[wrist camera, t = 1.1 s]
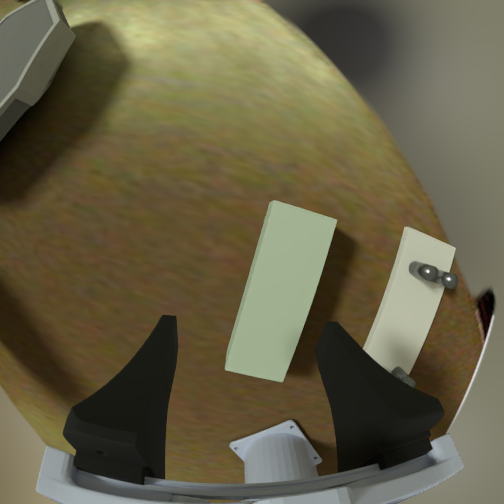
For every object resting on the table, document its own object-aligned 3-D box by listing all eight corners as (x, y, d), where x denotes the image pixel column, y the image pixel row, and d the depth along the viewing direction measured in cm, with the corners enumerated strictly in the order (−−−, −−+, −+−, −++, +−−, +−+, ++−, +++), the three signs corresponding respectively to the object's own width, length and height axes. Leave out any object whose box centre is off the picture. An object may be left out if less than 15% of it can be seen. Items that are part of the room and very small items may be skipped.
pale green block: (277, 360, 26) (282, 382, 22) (227, 349, 26) (224, 369, 22) (323, 219, 25) (337, 219, 21) (269, 203, 24) (274, 200, 20)
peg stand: (393, 395, 27) (407, 414, 23) (343, 390, 26) (355, 412, 23) (451, 247, 25) (475, 251, 21) (404, 226, 25) (427, 228, 21)
